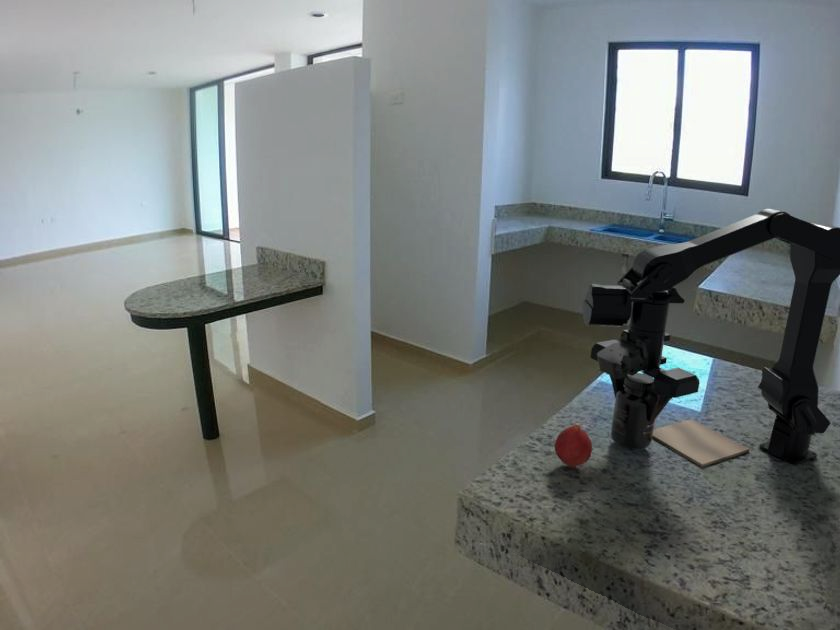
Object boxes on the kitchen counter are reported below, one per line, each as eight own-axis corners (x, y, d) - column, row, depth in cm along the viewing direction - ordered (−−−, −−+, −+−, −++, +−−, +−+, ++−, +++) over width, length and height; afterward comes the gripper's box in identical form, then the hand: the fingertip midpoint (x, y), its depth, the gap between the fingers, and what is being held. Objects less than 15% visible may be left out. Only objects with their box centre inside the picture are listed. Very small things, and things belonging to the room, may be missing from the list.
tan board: (691, 421, 110) (691, 419, 110) (748, 451, 100) (749, 449, 100) (645, 433, 105) (646, 431, 105) (701, 467, 95) (702, 464, 95)
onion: (550, 471, 93) (554, 427, 90) (556, 454, 98) (560, 412, 95) (587, 480, 90) (592, 435, 88) (591, 462, 96) (596, 419, 93)
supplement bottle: (654, 453, 97) (665, 388, 93) (612, 448, 98) (621, 384, 94) (647, 433, 103) (657, 372, 100) (608, 429, 104) (616, 368, 101)
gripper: (571, 316, 99) (562, 398, 103) (656, 352, 83) (641, 447, 88) (619, 309, 103) (609, 388, 108) (709, 342, 88) (692, 433, 92)
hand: (634, 412), depth 99 cm, fingers closed on supplement bottle, 7 cm apart
